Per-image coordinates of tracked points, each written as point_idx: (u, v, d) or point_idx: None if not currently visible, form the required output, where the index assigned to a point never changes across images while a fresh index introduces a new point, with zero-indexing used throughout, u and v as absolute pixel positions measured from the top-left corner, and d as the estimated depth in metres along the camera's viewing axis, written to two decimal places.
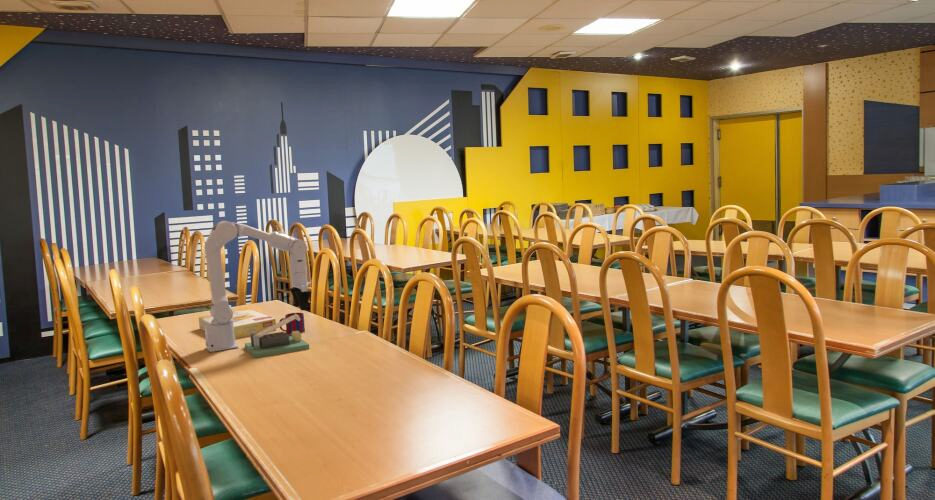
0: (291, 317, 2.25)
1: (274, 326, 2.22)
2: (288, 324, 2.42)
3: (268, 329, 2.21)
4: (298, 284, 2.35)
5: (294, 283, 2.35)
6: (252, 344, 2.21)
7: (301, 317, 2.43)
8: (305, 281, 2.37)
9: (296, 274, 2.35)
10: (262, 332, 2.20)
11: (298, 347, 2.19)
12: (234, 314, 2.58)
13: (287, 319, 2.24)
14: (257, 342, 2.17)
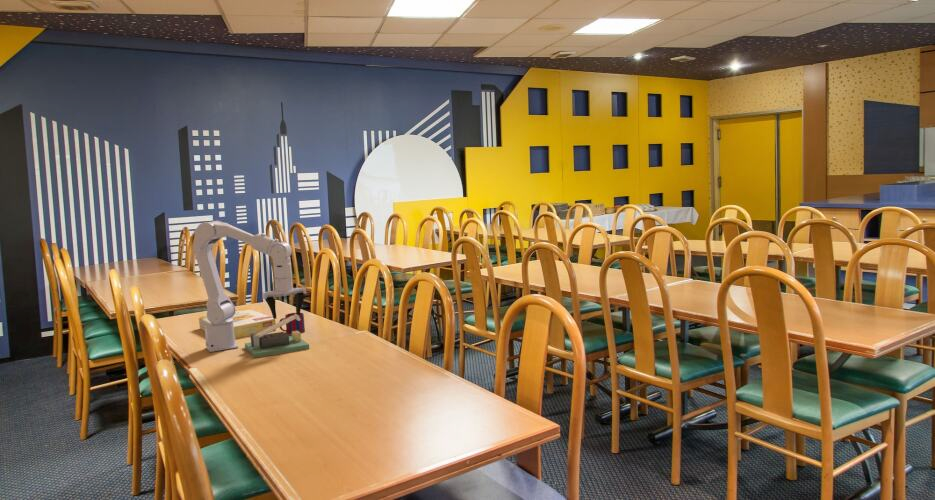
0: (291, 317, 2.25)
1: (274, 326, 2.22)
2: (288, 324, 2.42)
3: (268, 329, 2.21)
4: (275, 290, 2.22)
5: None
6: (252, 344, 2.21)
7: (301, 317, 2.43)
8: (279, 289, 2.20)
9: None
10: (262, 332, 2.20)
11: (298, 347, 2.19)
12: (234, 314, 2.58)
13: (287, 319, 2.24)
14: (257, 342, 2.17)
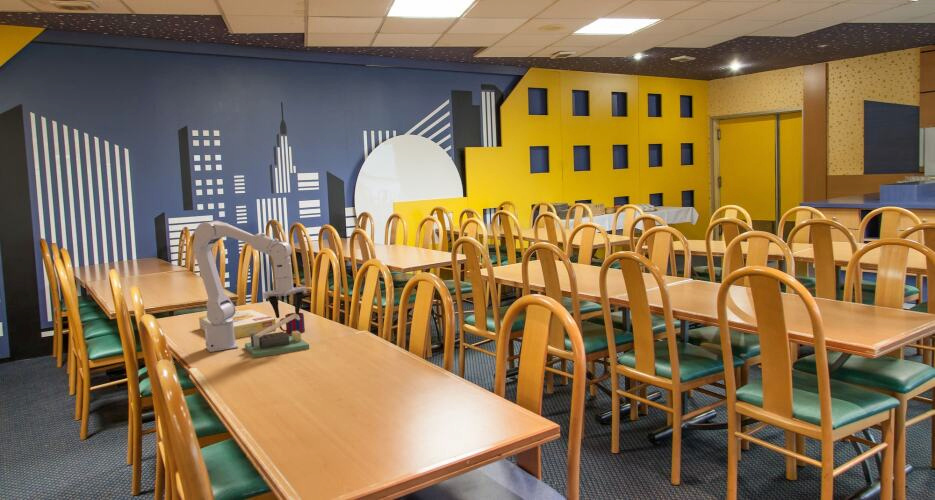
0: (291, 316, 2.25)
1: (274, 326, 2.22)
2: (288, 324, 2.42)
3: (268, 329, 2.21)
4: (276, 290, 2.22)
5: None
6: (252, 344, 2.21)
7: (301, 317, 2.43)
8: (279, 289, 2.20)
9: None
10: (262, 332, 2.20)
11: (298, 347, 2.19)
12: (234, 314, 2.58)
13: (287, 318, 2.24)
14: (257, 342, 2.17)
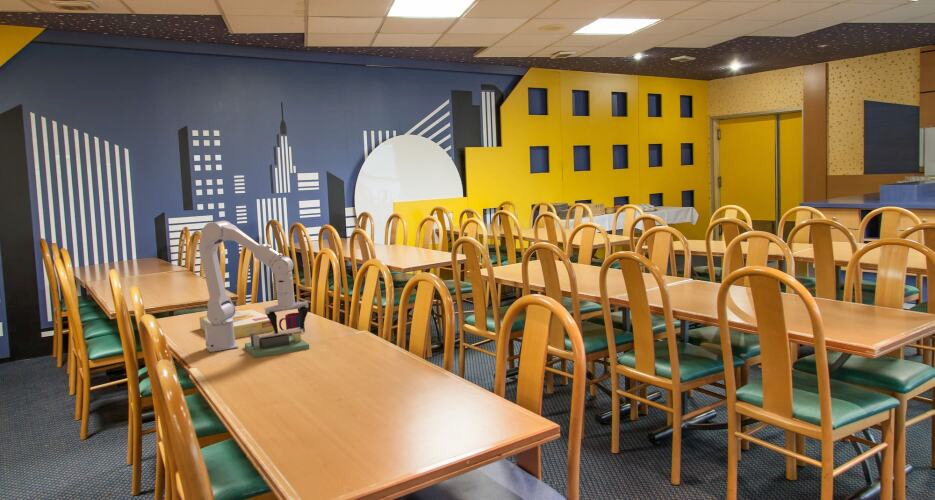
0: (295, 329, 2.26)
1: None
2: (288, 324, 2.42)
3: (270, 333, 2.21)
4: (277, 305, 2.23)
5: None
6: (252, 344, 2.21)
7: None
8: (281, 304, 2.21)
9: None
10: (263, 335, 2.20)
11: (298, 347, 2.19)
12: (234, 314, 2.58)
13: (291, 329, 2.25)
14: (257, 342, 2.17)
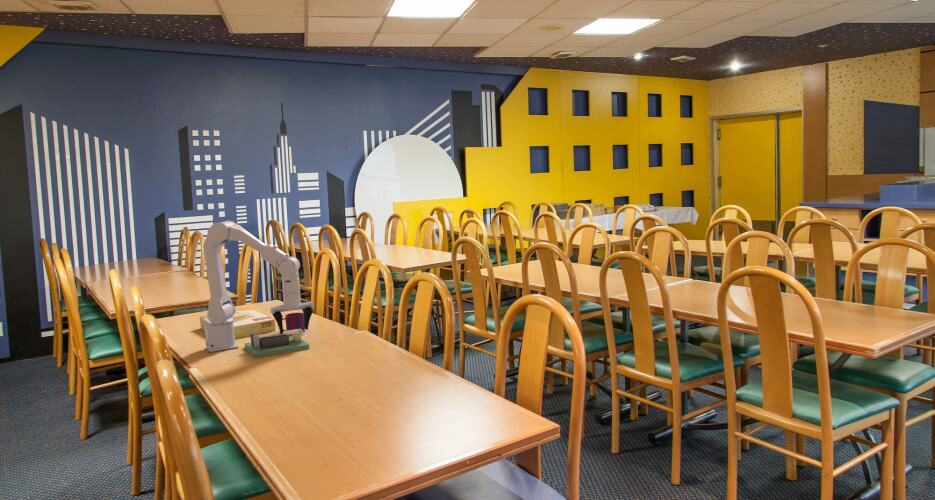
0: (295, 330, 2.26)
1: (277, 333, 2.22)
2: (288, 324, 2.42)
3: (270, 334, 2.21)
4: (283, 305, 2.24)
5: None
6: (252, 344, 2.21)
7: (301, 317, 2.43)
8: (287, 304, 2.22)
9: None
10: (263, 335, 2.20)
11: (298, 347, 2.19)
12: (235, 314, 2.58)
13: (291, 331, 2.25)
14: (257, 342, 2.17)
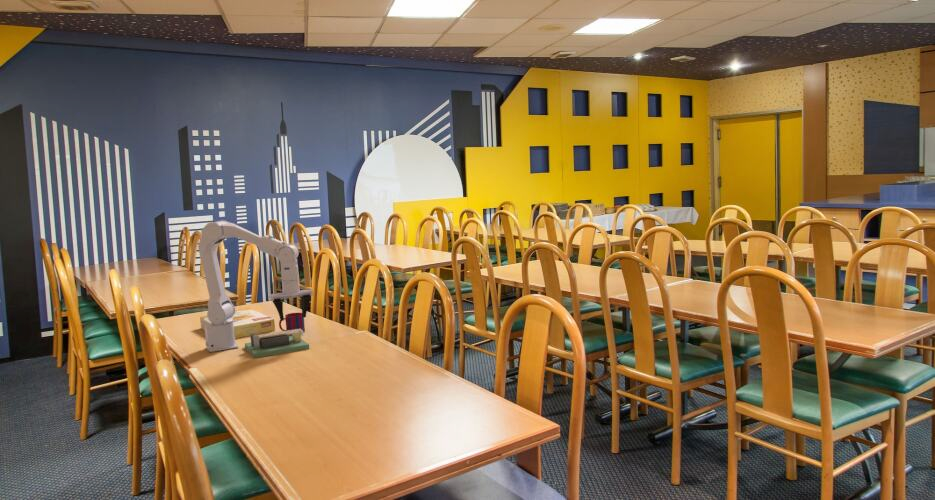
0: (295, 330, 2.26)
1: (277, 333, 2.22)
2: (288, 324, 2.42)
3: (270, 334, 2.21)
4: (282, 292, 2.24)
5: None
6: (252, 344, 2.21)
7: (301, 317, 2.43)
8: (285, 291, 2.21)
9: None
10: (263, 335, 2.20)
11: (298, 347, 2.19)
12: (235, 314, 2.58)
13: (291, 331, 2.25)
14: (257, 342, 2.17)
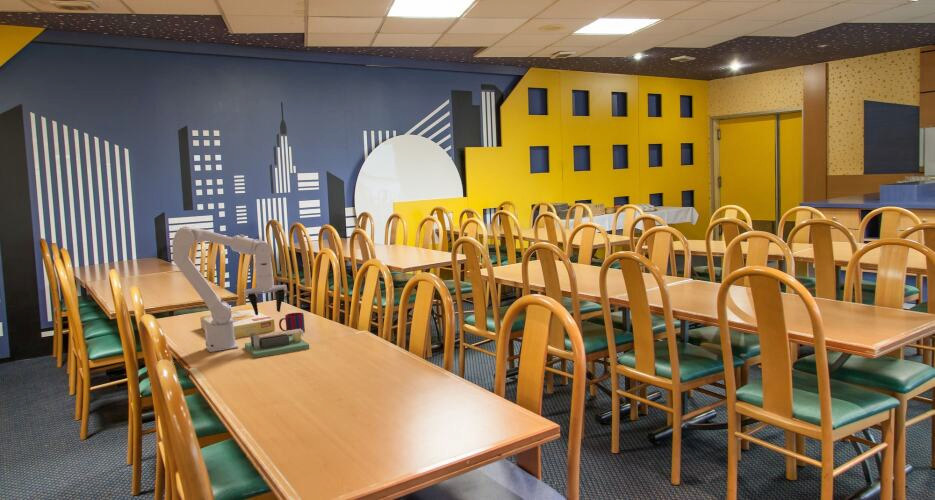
0: (295, 330, 2.26)
1: (277, 333, 2.22)
2: (288, 324, 2.42)
3: (270, 334, 2.21)
4: None
5: None
6: (252, 344, 2.21)
7: (301, 317, 2.43)
8: (260, 286, 2.28)
9: None
10: (263, 335, 2.20)
11: (298, 347, 2.19)
12: (235, 314, 2.58)
13: (291, 331, 2.25)
14: (257, 342, 2.17)
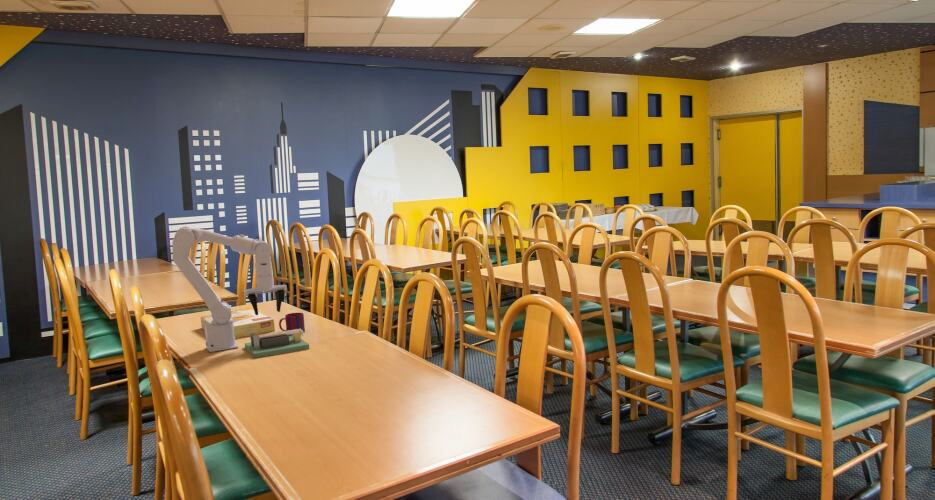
0: (295, 330, 2.26)
1: (277, 333, 2.22)
2: (288, 324, 2.42)
3: (270, 334, 2.21)
4: None
5: None
6: (252, 344, 2.21)
7: (301, 317, 2.43)
8: (260, 286, 2.28)
9: None
10: (263, 335, 2.20)
11: (298, 347, 2.19)
12: (235, 314, 2.58)
13: (291, 331, 2.25)
14: (257, 342, 2.17)
